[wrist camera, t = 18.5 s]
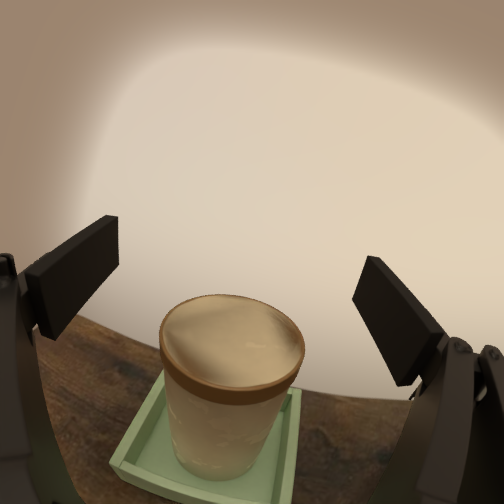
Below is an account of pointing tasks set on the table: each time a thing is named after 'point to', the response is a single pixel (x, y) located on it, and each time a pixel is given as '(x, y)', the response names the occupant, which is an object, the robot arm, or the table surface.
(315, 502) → the table surface
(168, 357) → the tea tin
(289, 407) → the bin
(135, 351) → the table surface
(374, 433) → the table surface
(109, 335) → the table surface
